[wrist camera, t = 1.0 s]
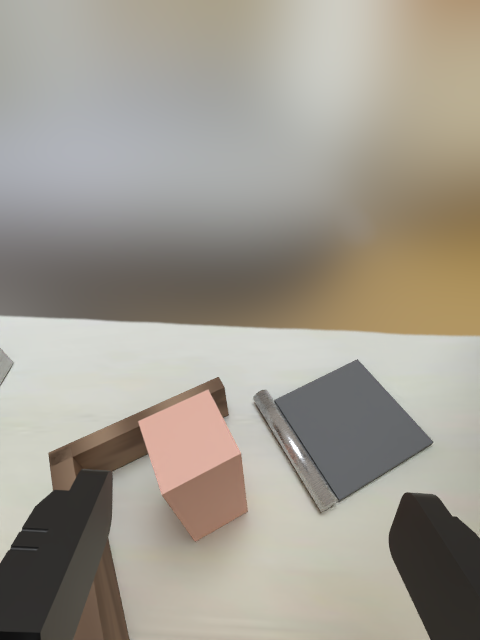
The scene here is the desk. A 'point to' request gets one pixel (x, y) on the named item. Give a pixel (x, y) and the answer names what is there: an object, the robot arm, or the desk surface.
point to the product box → (4, 364)
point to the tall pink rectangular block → (196, 464)
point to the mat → (351, 427)
